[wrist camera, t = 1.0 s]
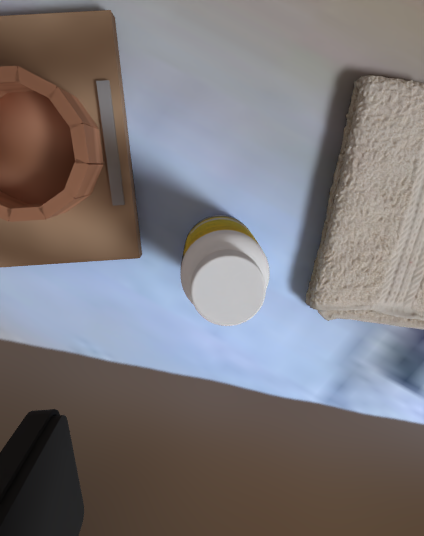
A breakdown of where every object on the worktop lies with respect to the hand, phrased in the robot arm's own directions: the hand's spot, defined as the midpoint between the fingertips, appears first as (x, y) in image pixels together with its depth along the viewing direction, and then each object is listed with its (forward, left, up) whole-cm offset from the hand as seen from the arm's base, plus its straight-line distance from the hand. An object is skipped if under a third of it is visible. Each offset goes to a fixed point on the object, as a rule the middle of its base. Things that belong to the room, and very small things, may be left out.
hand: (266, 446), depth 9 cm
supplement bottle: (0, 0, -21) cm, 21 cm away
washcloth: (-2, +14, -21) cm, 26 cm away
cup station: (-8, -12, -21) cm, 25 cm away
